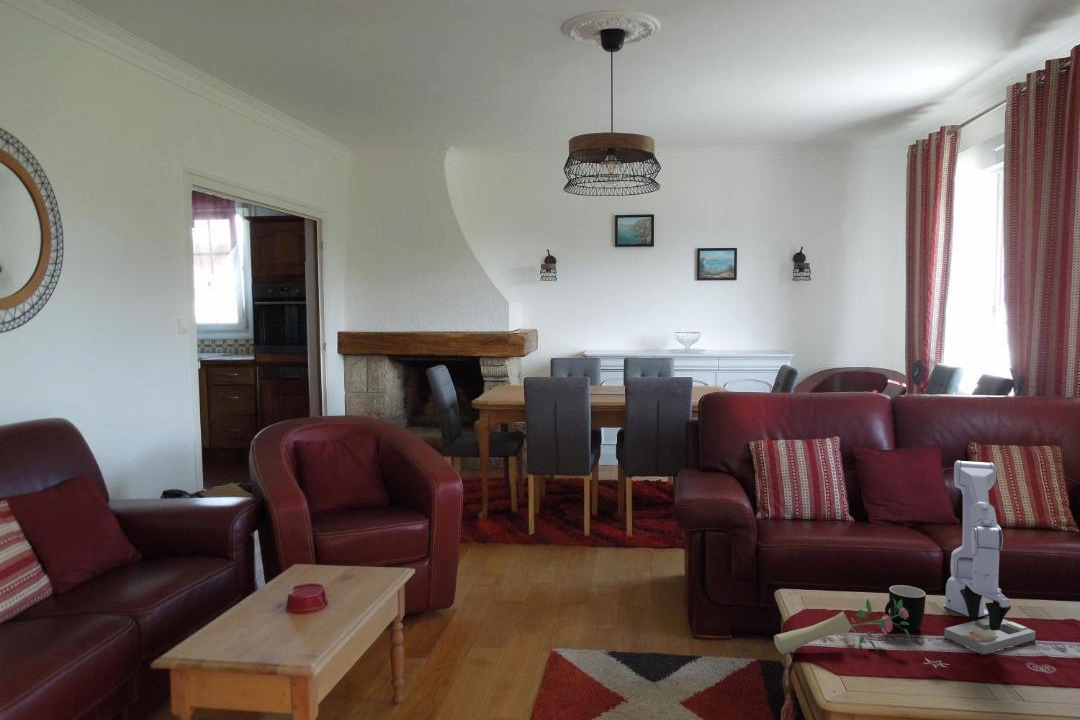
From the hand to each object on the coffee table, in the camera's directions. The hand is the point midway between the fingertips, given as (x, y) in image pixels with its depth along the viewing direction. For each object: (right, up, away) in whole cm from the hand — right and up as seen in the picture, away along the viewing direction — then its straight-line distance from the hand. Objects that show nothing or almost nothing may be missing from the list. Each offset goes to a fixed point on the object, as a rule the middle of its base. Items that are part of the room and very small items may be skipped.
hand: (983, 623), depth 191 cm
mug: (-16, -5, +11) cm, 20 cm away
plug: (0, -6, 0) cm, 6 cm away
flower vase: (-38, -6, -1) cm, 38 cm away
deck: (+3, -5, +3) cm, 7 cm away
